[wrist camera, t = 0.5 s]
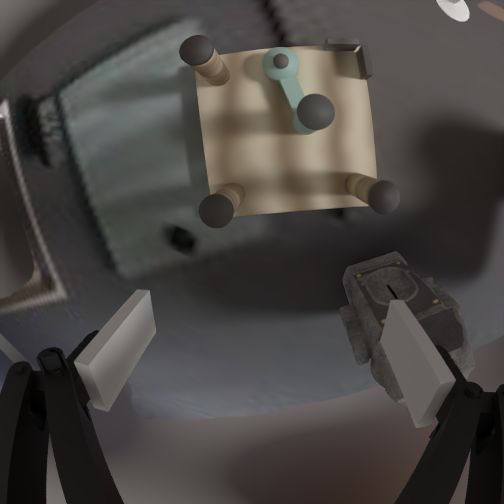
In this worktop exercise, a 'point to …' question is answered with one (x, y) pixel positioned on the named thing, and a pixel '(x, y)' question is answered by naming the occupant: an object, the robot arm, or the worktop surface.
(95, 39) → the worktop surface
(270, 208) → the stool
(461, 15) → the wineglass
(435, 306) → the figurine
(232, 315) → the worktop surface
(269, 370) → the worktop surface
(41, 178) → the worktop surface
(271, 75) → the folding leg
